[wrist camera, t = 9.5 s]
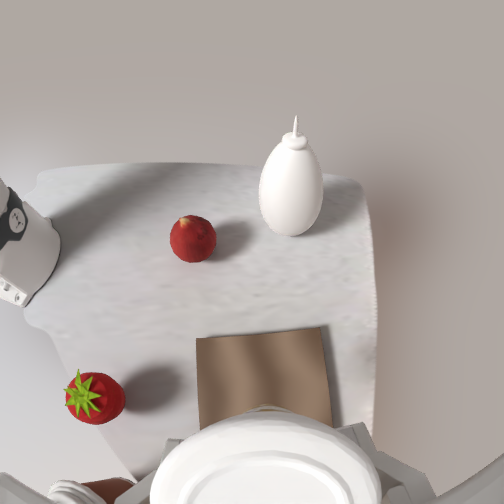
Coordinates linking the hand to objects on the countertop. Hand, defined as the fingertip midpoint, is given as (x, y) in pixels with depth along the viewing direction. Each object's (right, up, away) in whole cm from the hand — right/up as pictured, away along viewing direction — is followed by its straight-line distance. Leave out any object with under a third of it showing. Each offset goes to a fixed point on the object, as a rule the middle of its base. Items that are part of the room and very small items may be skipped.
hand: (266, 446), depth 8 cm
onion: (-8, +7, +29) cm, 31 cm away
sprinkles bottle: (0, -5, +6) cm, 8 cm away
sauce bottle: (+5, +11, +30) cm, 33 cm away
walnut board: (+1, -11, +17) cm, 21 cm away
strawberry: (-17, -11, +18) cm, 28 cm away
